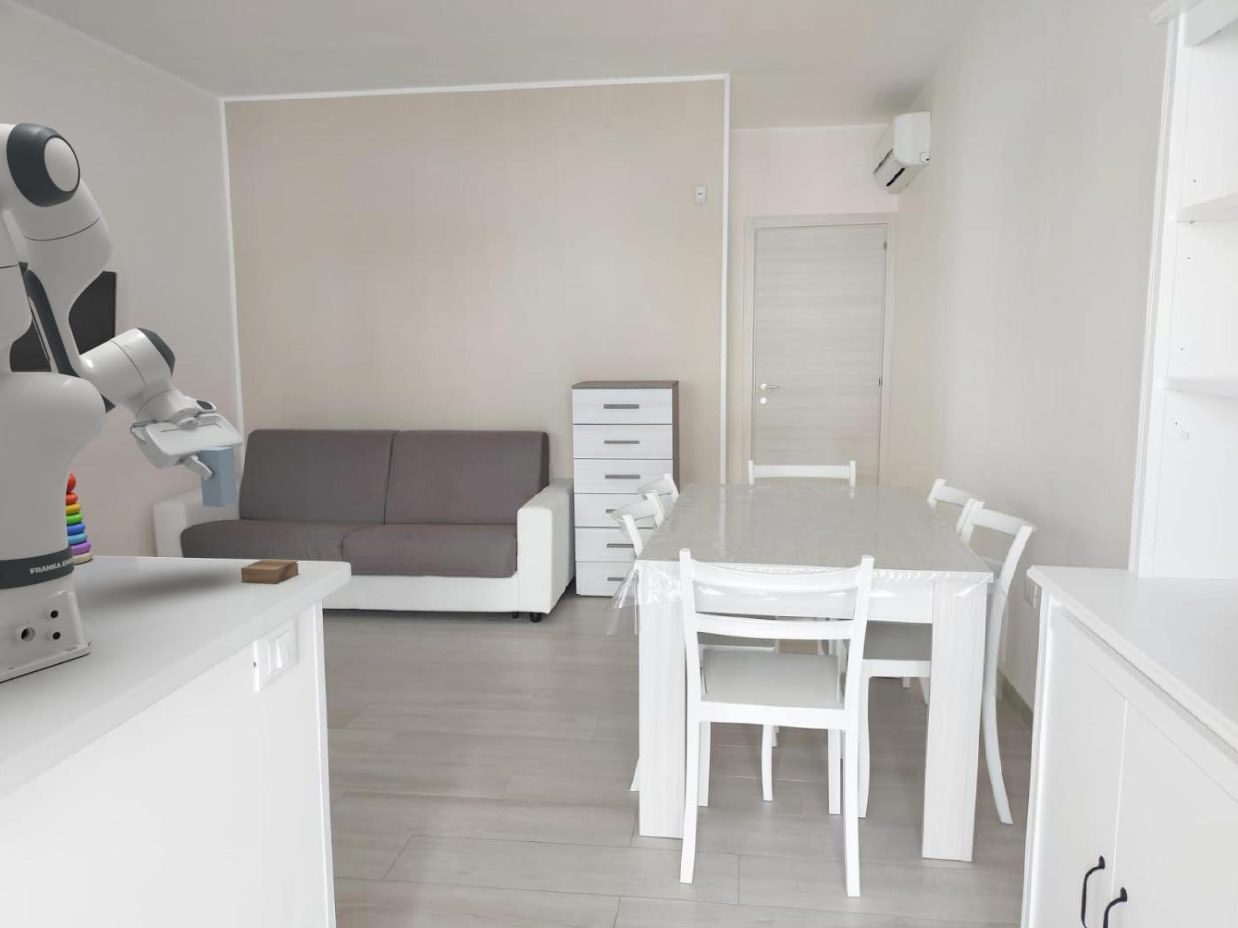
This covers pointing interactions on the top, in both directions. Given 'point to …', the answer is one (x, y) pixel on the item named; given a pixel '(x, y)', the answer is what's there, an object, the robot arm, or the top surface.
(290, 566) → the base block
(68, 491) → the stacking toy
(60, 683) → the top surface
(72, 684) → the top surface
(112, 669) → the top surface
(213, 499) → the pillar
